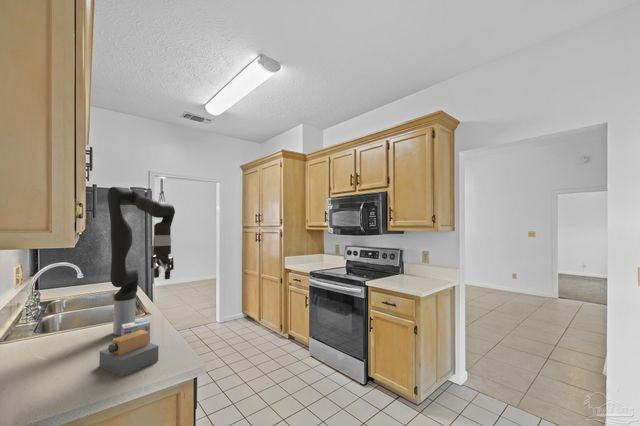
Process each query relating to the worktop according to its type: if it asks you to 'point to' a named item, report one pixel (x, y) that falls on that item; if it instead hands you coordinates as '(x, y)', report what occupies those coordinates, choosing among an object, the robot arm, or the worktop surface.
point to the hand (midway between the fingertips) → (161, 278)
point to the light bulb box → (135, 327)
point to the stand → (128, 359)
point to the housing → (129, 342)
